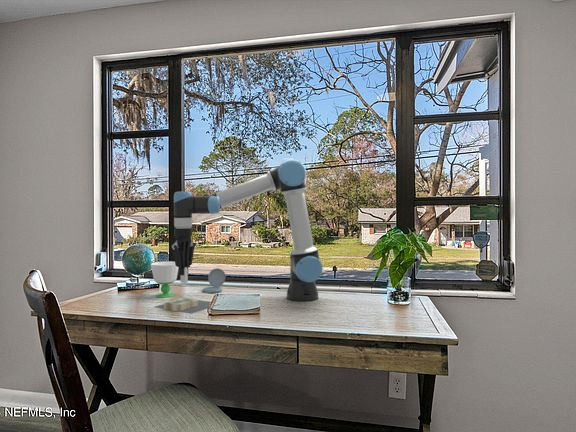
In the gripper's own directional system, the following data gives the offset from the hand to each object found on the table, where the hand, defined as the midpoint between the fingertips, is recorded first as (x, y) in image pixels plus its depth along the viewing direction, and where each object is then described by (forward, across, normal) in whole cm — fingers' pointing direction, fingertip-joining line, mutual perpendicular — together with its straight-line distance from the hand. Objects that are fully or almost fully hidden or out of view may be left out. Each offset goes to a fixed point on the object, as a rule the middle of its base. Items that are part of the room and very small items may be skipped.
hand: (184, 282), depth 187 cm
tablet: (+9, -4, 0) cm, 10 cm away
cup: (+11, -14, -26) cm, 32 cm away
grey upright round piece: (+12, -33, -13) cm, 37 cm away
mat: (+11, -3, 0) cm, 11 cm away
